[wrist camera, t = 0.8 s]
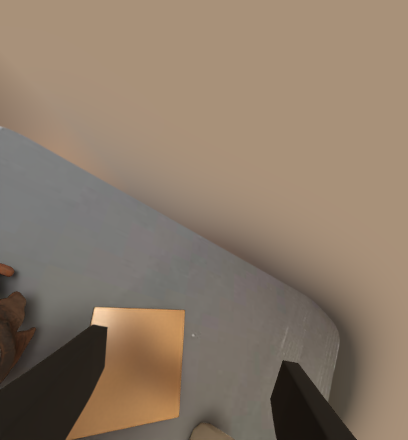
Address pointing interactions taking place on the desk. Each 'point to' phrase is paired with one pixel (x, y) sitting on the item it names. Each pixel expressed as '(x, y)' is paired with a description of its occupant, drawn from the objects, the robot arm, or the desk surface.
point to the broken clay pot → (12, 328)
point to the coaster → (135, 370)
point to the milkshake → (208, 433)
